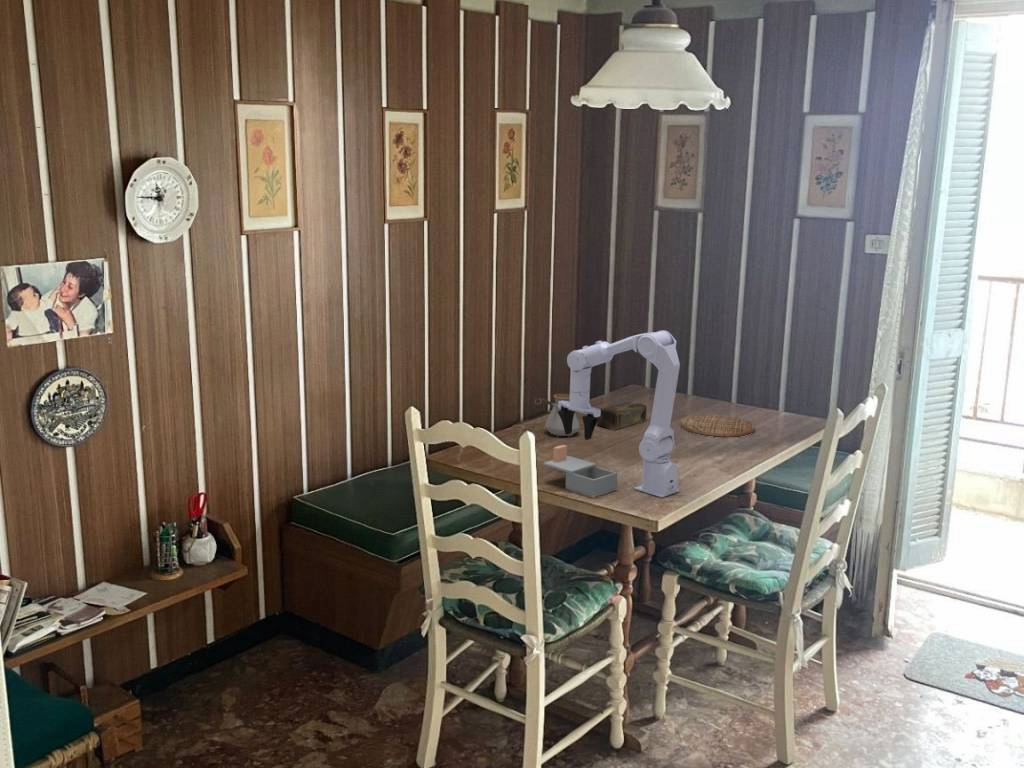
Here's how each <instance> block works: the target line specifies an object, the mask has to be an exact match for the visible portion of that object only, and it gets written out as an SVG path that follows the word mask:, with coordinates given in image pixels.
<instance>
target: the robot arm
mask: <svg viewBox="0 0 1024 768" xmlns="http://www.w3.org/2000/svg"><path fill="white" fill-rule="evenodd" d="M676 347H677V340H676V339H675V338H674V336H673V335H672V333H670V332H669V331H667V330H666V329H665V330H658V331H656V332H655V331H653V332H645V333H639V334H636V335H631V336H628V337H626V338H623V339H621V340H617V341H615V342H612V343H609V342H607V341H603V340H598V341H595V344H592V345H590V346H589V345H584V346H582V348H581V349H577V350H576V349H575V350H572V351H570V353H568V354H567V356H566V357H567V358H566V362H567V363H566V364H567V366H568V368H570V374H569V375H570V377H569V395H570V401H569V402H568V401H559V402H558V408H561V410H559V411H558V414H559V416H560V418H561V420H562V423H563V426H564V431H565V434H570V433H571V432H572V423H573V417H574V413H575V414H576V413H580V414H584V416H582V417H581V418H582V421H583V425H584V429H583V430H584V436H583V437H584V440H585V441H588V440H592V437H593V434H594V431H595V430H594V429H595V428H596V426H597V422H598V420H599V419H600V414H601V410H599V408H596V407H593V406H592V405H591V403H590V395H591V394H590V393H591V374H592V368H593V367H595V366H598V365H601V364H605V363H608V362H611V361H612V360H613V358H614V356H615V355H617V354H620V353H624V352H627V351H632V350H633V351H634V353H639V354H640V355H641V356H642V357H643V358H645V359H646V360H647V361H649V362H650V363H651V364H653V365H654V366H655V367H656V368H657V370H658V372H657V378H656V384H655V391H654V397H653V405H652V411H651V415H650V416H651V417H650V423H649V425H648V427H647V429H646V430H645V432H644V434H643V437H642V440H641V441H640V442H639V445H638V450H639V451H638V452H639V454H640V456H641V458H642V472H641V473H642V475H641V477H642V478H641V485H639V486H636V487H634V489H635V490H636V491H640V492H641V493H642V492H643V493H646V494H650V495H653V496H657V497H659V498H665V497H666V496H670V495H672V494H675V493H676V494H677V493H679V492H680V491H679V488H678V484H679V483H678V481H679V468H678V465H677V464H676V463H673V462H672V461H671V460H670V457H671V454H672V453H673V452H674V450H675V448H676V447H675V446H676V443H675V439H674V434H675V431H674V430H673V429H672V428H671V421H672V417H673V410H674V404H675V398H676V391H677V386H678V380H679V374H680V368H681V367H680V365H681V363H680V360H679V356H678V352H677V348H676Z"/></svg>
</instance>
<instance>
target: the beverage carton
mask: <svg viewBox="0 0 1024 768" xmlns="http://www.w3.org/2000/svg"><path fill="white" fill-rule="evenodd" d="M598 409H599V408H598ZM647 409H648V408H647V405H646V404H642V403H637V402H635V401H634V400H632V401H628V402H625V403H618V404H615V405H611V406H606V407H603V408H600V409H599V410H601V414H600V419H599V420H598V422H597V424H596V426H597V427H599V426H601V427H600V428H603V427H605V428H604V429H606V428H608V429H607V430H610V429H612V430H611V431H616V429H617V430H619V428H620V429H623V428H626V426H627V427H630V426H633V425H632V424H634V425H637V424H640V423H642V422H641V421H644V422H646V418H647ZM639 422H640V423H639ZM636 423H637V424H636ZM629 425H630V426H629Z"/></svg>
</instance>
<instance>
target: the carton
mask: <svg viewBox="0 0 1024 768" xmlns="http://www.w3.org/2000/svg"><path fill="white" fill-rule="evenodd" d="M617 488H618V472H616V471H614V470H613V471H612V470H610V469H605V468H602V467H599V466H597V465H596V466H594V467H591V468H588V469H584V470H581V471H578V472H574V473H569V472H565V488H564V489H565V490H568V491H570V492H573V493H576V494H579V495H582V496H584V497H585V496H586V497H588V498H592V499H596V498H597V497H600V496H604V495H606V494H610V493H612V491H613V492H615V490H616V491H617ZM609 492H610V493H609Z"/></svg>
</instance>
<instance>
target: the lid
mask: <svg viewBox="0 0 1024 768" xmlns="http://www.w3.org/2000/svg"><path fill="white" fill-rule="evenodd" d="M552 454H553V455H552V456H553V457H552V460H549V461H545V462H543V466H547V467H550V468H553V469H557V470H560V471H563V472H565V473H566V472H569V473H574V472H578V471H581V470H584V469H588V468H591V467H594V466H596V467H597V463H594V462H592V461H588V460H585V459H580V458H577V457H574V456H570V455H567V454H568V445H565V444H561V445H557V446H555V447H553V453H552Z"/></svg>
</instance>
